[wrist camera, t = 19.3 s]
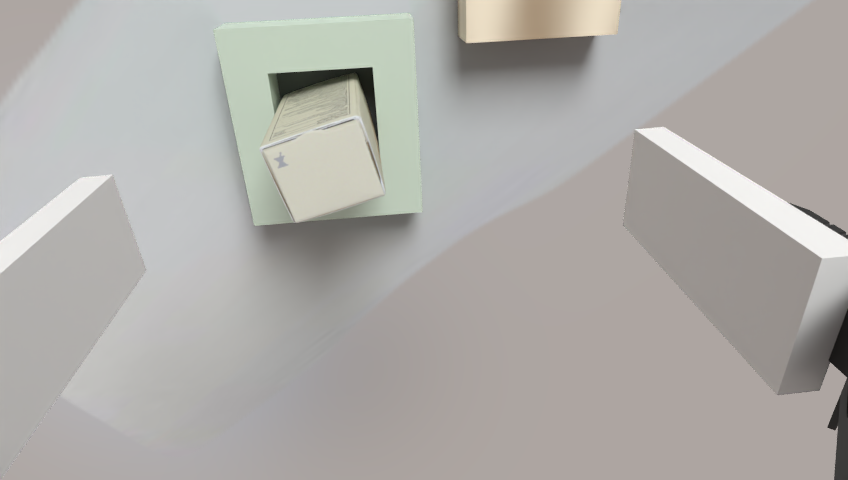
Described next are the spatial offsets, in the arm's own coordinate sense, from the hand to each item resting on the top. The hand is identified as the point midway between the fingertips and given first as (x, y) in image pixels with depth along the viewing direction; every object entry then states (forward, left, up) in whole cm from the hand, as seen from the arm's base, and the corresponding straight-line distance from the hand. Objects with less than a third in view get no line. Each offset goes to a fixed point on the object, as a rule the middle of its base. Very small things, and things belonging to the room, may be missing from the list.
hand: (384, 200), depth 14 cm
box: (+3, +4, -23) cm, 23 cm away
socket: (+3, +4, -23) cm, 23 cm away
